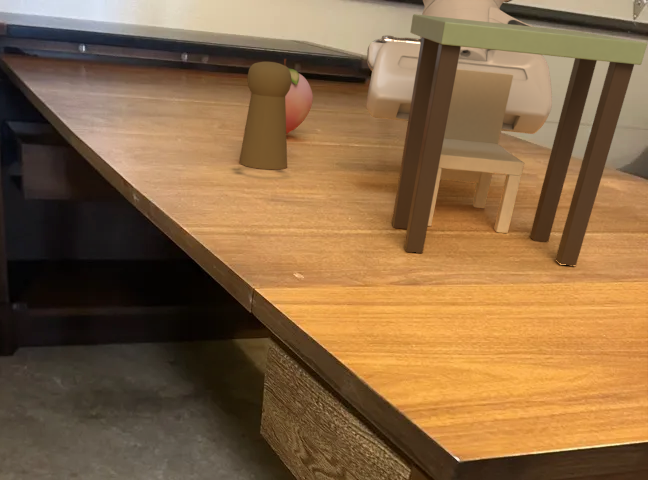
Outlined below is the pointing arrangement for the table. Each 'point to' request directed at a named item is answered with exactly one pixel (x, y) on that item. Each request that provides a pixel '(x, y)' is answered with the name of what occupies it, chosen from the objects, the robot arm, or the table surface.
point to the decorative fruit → (297, 100)
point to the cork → (266, 117)
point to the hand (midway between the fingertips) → (456, 154)
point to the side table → (587, 49)
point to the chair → (479, 141)
